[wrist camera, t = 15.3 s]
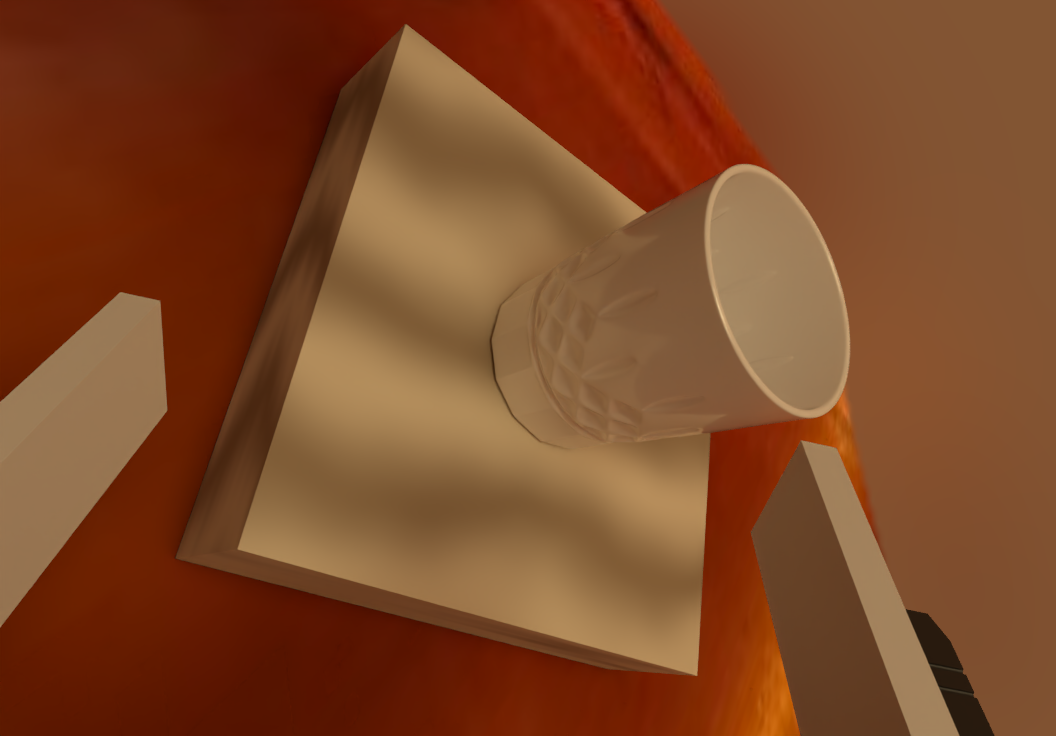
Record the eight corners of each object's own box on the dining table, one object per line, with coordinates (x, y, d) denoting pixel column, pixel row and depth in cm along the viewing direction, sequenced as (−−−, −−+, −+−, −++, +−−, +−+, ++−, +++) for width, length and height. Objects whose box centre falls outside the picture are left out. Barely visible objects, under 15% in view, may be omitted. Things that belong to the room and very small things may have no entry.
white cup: (465, 255, 28) (685, 134, 21) (608, 281, 33) (822, 191, 26) (489, 469, 26) (736, 418, 19) (635, 460, 32) (871, 417, 25)
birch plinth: (341, 89, 32) (405, 23, 29) (645, 298, 43) (719, 270, 40) (175, 558, 24) (237, 549, 20) (607, 669, 35) (697, 675, 31)
